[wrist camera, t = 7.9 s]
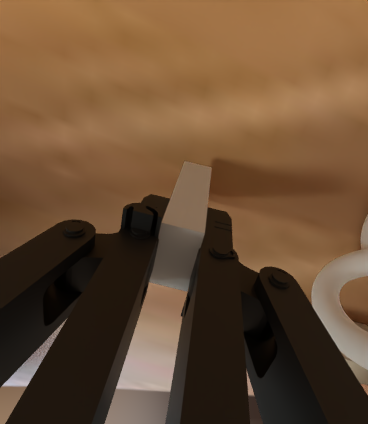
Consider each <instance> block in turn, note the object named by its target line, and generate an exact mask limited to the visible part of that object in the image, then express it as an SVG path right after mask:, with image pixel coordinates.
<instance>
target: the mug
mask: <svg viewBox="0 0 368 424" xmlns="http://www.w3.org/2000/svg"><path fill="white" fill-rule="evenodd" d="M361 249H362V250H357V251H353V252H350V253H347V254H344V255H342V256H339V257H337V258H335V259H334V260H332V261H330V262H329V263H328V264H327V265H325V266H324V267H323V268H322V270H321V271H320V272H319V273H318V275H317V276H316V278H315V280H314V283H313V287H312V294H311V297H312V307H313V308H314V310H315V311H316V313H317V315H318V316H319V318H320V320H321V321H322V323H323V324H324V326H325V328H326V329H327V331H328V332H329V334H330V336H331V337H332V339H333V341H334V342H335V344H336V345H337V347H338V349H339V350H340V351H341V352H342V353H343V354H344V355H345V356H346V357H348V358H349V359H351V360H352V361H354V362H355V363H357V364H358V365H360V366H361V367H363V368H365V369H367V370H368V332H367V331H365V330H363V329H362V328H360V327H359V326H358V325H356V324H355V323H354V322H353V321H352V320H351V319H350V318H349V317H348V315H347V314H346V313H345V312H344V310H343V308H342V306H341V303H340V298H339V293H340V290H341V288H342V287H343V285H344V284H346V283H347V282H349V281H351V280H353V279H356V278H360V277H365V276H368V215H367V217H366V219H365V221H364V224H363V227H362V232H361Z"/></svg>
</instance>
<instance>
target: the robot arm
mask: <svg viewBox="0 0 368 424" xmlns="http://www.w3.org/2000/svg"><path fill="white" fill-rule="evenodd" d="M211 170H212V167H208V166H204V165H199V164H195V163H191V162H187V161H184V164H183V166H182V169H181V172H180V174H179V177H178V180H177V182H176V185H175V188H174V190H173V193H172V196H171V198H170V199H169V198H165V197H161V196H157V195H152V194H150V195H148V196H146V197H145V198H143V200H142V202H141V203H132V204H129V205H126V206H125V207H124V208H123V215H122V223H121V229H120V231H119V232H118V233H113V234H96V233H95V231H96V229H95V228H94V226H93V225H92V224H90V223H88V222H86V221H82V220H66V221H63V222H60V223H58V224H56V225H55V226H53V227H51V228H50V229H48V230H46V231H45V232H43V233H41V234H40V235H38V236H36V237H35V238H33V239H32V240H30V241H28V242H27V243H25V244H23V245H22V246H20V247H18V248H17V249H15V250H13V251H12V252H10V253H8V254H7V255H5V256H4V257H2V258H0V387H1V386H2V385H3V384H4V383H5V382H6V381H7V380H8V379H9V378H10V377H11V376H12V375H13V374H14V373H15V372H16V371H17V370H18V369H19V368H20V367H21V366H22V364H23V363H24V362H25V361H26V360H27V359H28V358H29V357H30V356H31V355H32V354H33V353H34V352H35V351H36V350H37V349H38V348H39V347H40V346H41V345H42V344H43V343H44V342H45V341H46V340H47V339H48V338H49V336H50V335H51V334H52V333H53V332H54V331H55V330H56V329H57V328H58V327H59V326H60V325H61V324H62V323H63V322H64V321H65V320H66V319H67V318H68V319H67V320H66V322H65V324H64V325H63V327H62V329H61V330H60V332H59V334H58V335H57V337H56V339H55V340H54V342H53V344H52V346H51V347H50V349H49V351H48V352H47V354H46V356H45V357H44V359H43V361H42V362H41V364H40V366H39V368H38V369H37V371H36V373H35V374H34V376H33V378H32V379H31V381H30V383H29V384H28V386H27V388H26V389H25V391H24V393H23V395H22V396H21V398H20V400H19V401H18V403H17V405H16V406H15V408H14V410H13V412H12V413H11V415H10V417H9V418H8V420H7V422H6V423H5V424H104V423H105V420H106V417H107V414H108V411H109V408H110V404H111V402H112V398H113V395H114V392H115V389H116V386H117V383H118V380H119V377H120V374H121V371H122V368H123V364H124V361H125V358H126V355H127V352H128V349H129V346H130V343H131V340H132V336H133V333H134V330H135V327H136V324H137V321H138V318H139V315H140V312H141V308H142V305H143V302H144V299H145V296H146V293H147V288H148V283H149V282H151V283H155V284H159V285H163V286H167V287H171V288H175V289H179V290H183V291H188V293H187V297H186V300H185V303H184V307H183V310H182V313H181V316H183V317H182V324H181V330H180V336H179V342H178V348H177V355H176V361H175V367H174V373H173V380H172V386H171V392H170V398H169V405H168V411H167V417H166V423H165V424H250V417H249V402H248V388H247V373H246V369H247V372H248V375H249V378H250V382H251V385H252V388H253V392H254V395H255V398H256V401H257V405H258V408H259V411H260V415H261V418H262V421H263V424H368V395H367V394H366V392H365V391H364V389H363V387H362V386H361V384H360V382H359V381H358V379H357V378H356V376H355V374H354V373H353V371H352V370H351V368H350V366H349V365H348V363H347V362H346V360H345V358H344V357H343V355H342V353H341V352H340V350H339V349H338V347H337V345H336V344H335V342H334V341H333V339H332V337H331V336H330V334H329V332H328V331H327V329H326V328H325V326H324V324H323V323H322V321H321V320H320V318H319V316H318V315H317V313H316V311H315V310H314V308H313V307H312V305H311V303H310V302H309V300H308V299H307V297H306V295H305V294H304V292H303V290H302V289H301V287H300V286H299V284H298V282H297V281H296V280H295V279H294V278H293V276H291V275H290V274H289V273H287V272H286V271H284V270H282V269H279V268H275V267H264V268H262V269H261V270H260V272H259V273H257V272H255V271H253V270H251V269H249V268H247V267H246V266H244V265H242V264H241V263H240V262H239V260H238V255H237V253H236V252H235V250H234V249H233V243H232V222H231V218H230V216H229V215H228V213H227V212H224V211H220V210H216V209H212V208H208V198H209V189H210V179H211ZM188 288H189V289H188Z"/></svg>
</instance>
